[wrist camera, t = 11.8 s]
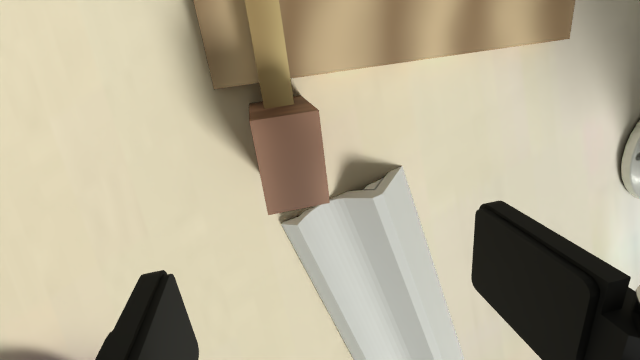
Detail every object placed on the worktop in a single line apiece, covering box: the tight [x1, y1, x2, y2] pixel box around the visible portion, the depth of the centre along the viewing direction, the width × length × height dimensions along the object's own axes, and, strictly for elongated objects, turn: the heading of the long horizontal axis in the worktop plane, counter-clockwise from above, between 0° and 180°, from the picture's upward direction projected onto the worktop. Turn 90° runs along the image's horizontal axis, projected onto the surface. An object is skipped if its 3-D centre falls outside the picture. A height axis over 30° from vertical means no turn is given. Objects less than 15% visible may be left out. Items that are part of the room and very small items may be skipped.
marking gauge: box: [244, 0, 330, 215], centre depth 22 cm, size 4×16×7 cm, turn 7°
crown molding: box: [281, 166, 465, 360], centre depth 35 cm, size 31×12×4 cm, turn 22°
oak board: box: [193, 0, 575, 89], centre depth 24 cm, size 28×8×2 cm, turn 97°
